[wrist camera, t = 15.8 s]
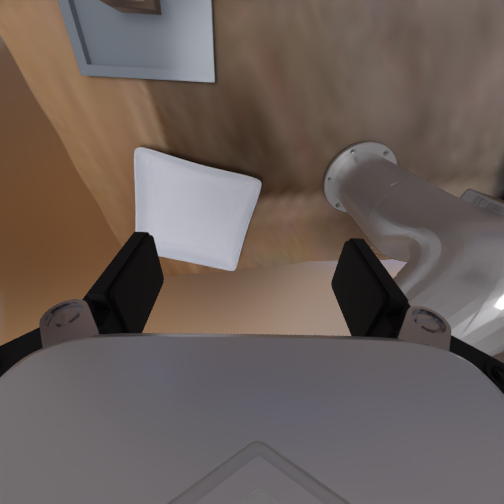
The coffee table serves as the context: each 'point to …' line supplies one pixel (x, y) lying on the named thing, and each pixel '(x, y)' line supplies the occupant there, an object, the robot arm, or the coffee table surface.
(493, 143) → the coffee table surface
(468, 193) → the coffee box
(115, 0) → the walnut block
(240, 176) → the salad plate
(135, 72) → the slate dish
